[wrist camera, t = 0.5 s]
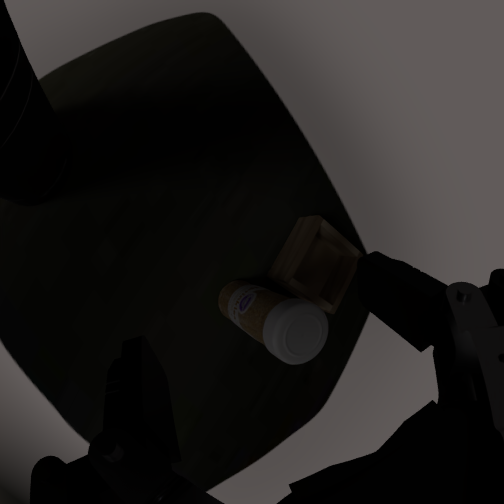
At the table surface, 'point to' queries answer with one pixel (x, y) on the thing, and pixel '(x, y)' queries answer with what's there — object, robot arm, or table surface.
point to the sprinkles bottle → (276, 320)
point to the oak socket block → (316, 263)
